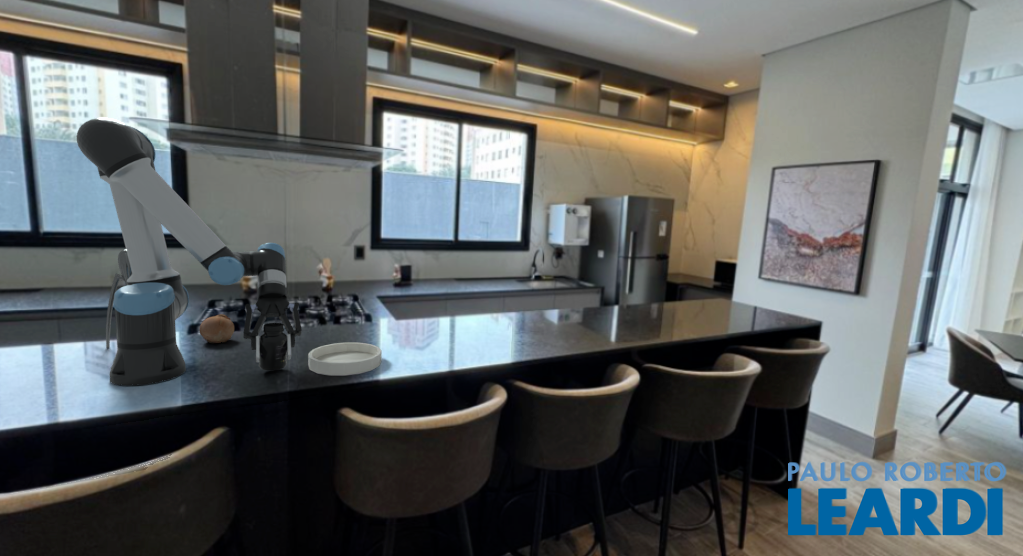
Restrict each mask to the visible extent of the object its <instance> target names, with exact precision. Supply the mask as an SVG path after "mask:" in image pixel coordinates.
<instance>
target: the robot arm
mask: <svg viewBox="0 0 1023 556" xmlns="http://www.w3.org/2000/svg"><path fill="white" fill-rule="evenodd" d="M75 137H76V143H77V146H78V148H79V150H80V152H81V153H82V154H83V156H85V157H86V158H87V159H88V161H90V162H91V163H92V164H93V165H94V166H96V168H97V172H98V175H99V178H100V179H101V180H102V181H104V182H106V183H108V185H109V187H110V191H111V195H112V199H113V203H114V206H115V211H116V215H117V218H118V222H119V226H120V229H121V230H120V231H121V234H122V239H123V243H124V246H125V250H127V254H128V258H129V262H130V266H131V270H132V275H131V276H130V277H129V279H128V280H127V284H128V285H124V286H122V287H120V288H117V289H116V292H115V295H114V302H113V308H114V321H115V333H116V334H115V335H116V345H117V348H116V349H117V350H116V353H115V356H114V358H113V360H112V361H113V362H112V365H111V367H110V370H109V382H110V384H112V385H116V386H123V387H124V386H127V387H130V386H132V387H133V386H134V387H135V386H145V385H146V386H147V385H152V384H156V383H157V384H158V383H162V382H166V381H168V380H169V381H170V380H174V379H177V378H178V377H180V376H182V375H183V374H184V373H186V370H187V368H186V361H185V359H184V356H183V354H182V352H181V351H180V348H179V346H178V345H177V344H178V343H177V333H176V332H177V331H176V321H177V320H178V319H179V318H180V317H181V316H182V315H184V313H185V312H186V311H187V309H188V306H189V304H190V296H189V292H188V290H187V288H186V287H185V286H184V285H183V282H182V278H181V274H180V272H179V271H176V270H175V269H174V268H173V267H172V265H171V260H170V256H169V252H168V247H167V243H166V239H165V235H164V230H163V227H164V228H165V229H166V231H168V232H169V233H170V235H171V236H173V237H174V238H175V239H176V240H177V241H178V242H179V243H180V244H181V245H182V247H184V248H185V249H186V251H188V252H189V254H190V255H192V257H194V258H195V259H196V260H197V261H198V263H200V265H201V266H202V267H203V268H204V269H205V270H207V272H208V275H209V278H210V279H211V280H212V281H213V282H214V283H216V284H218V285H221V286H230V285H233V284H235V283H238V282H239V281H241V279H242V278H243V277H255V276H257V301H256V302H255V303H254V304H250V303H246V304H245V306H244V307H245V308H244V310H245V314H246V315H245V320H244V326H243V327H244V328H243V338H244V339H245V340H246V339H249V340H250V348H251V350H252V351H256V352H255V363H259V338H260V335H259V334H260V332H261V329H262V328H263V327H264V325H265V324H264V323H265V321H266V320H267V318H272V317H273V318H278V319H279V320H280V321H281V323H282V324H283V325H284V330H285V331H286V333H287V334H286V335H287V361H288V360H291V358H292V348H295V347H296V337H300V336H301V335H302V331H303V330H302V324H301V320H300V313H299V307H300V303H299V302H295V303H291V302H290V301H288V293H287V292H288V291H287V289H288V288H287V269H286V268H287V267H286V265H287V264H286V261H287V260H286V253H285V249H284V248H283V247H282V246H281V244H278V243H275V242H265V243H263V244H260V246H258V247H257V250H253V251H231V249H230V248H228V246H227V245H226V244H225V243H224V242H223V241H222V240H221V239H220V237H218V235H217V234H216V233H215V232H214V231H213V230H212V229H211V228H210V227H209V226H208V225H207V224H206V222H204V220H202V218H200V216H199V215H198V214H197V213H196V212H195V211H194V210H193V209H192V207H190V206H189V205H188V204H187V202H186V201H184V200H183V198H182V197H181V196H180V195H179V194H178V193H177V192H176V191H175V190H174V189H173V188H172V186H170V185H169V184H168V183H167V181H166V180H165V179H164V178H163V177H162V176H161V175H160V174H159V173H158V171H156V168H155V167H156V165H155V160H156V149H155V147H154V144H153V142H152V140H150V139H149V138H148V136H147V135H146V134H144V133H143V132H142V131H141V130H139V129H138V128H136V127H133V126H131V125H127V124H126V123H124V122H121V121H120V120H117V119H114V118H108V117H96V118H95V117H94V118H91V119H89V120H87V121H85V122H84V123H82V124H81V125H80V127H79V128H78V130H77V133H76V136H75ZM162 226H163V227H162ZM288 309H289V310H290V312H292V318H293V323H294V327H295V329H294V327H293V325H292V324H291V321H290V320H289V318H288V316H287V313H286V311H287V310H288ZM255 310H257V311H258V312H260V316H259V317H258V319H257V321H256V323H255V325H254V328H253V330H252V332H251V326H252V319H253V314H254V313H255Z"/></svg>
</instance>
